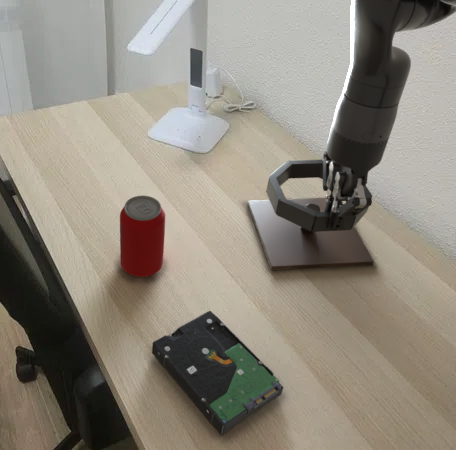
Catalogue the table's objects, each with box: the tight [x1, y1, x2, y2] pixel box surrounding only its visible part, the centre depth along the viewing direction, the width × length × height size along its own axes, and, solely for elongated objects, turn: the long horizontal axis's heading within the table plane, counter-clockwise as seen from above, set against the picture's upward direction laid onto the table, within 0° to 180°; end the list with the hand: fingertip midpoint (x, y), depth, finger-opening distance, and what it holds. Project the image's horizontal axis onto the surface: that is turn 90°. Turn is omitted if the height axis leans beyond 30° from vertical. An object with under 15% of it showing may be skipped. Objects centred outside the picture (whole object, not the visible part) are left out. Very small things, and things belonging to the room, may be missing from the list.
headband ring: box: [265, 158, 373, 232], centre depth 89 cm, size 15×15×3 cm
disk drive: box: [151, 310, 284, 437], centre depth 72 cm, size 10×3×15 cm
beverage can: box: [119, 195, 166, 278], centre depth 84 cm, size 7×7×12 cm
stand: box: [246, 197, 375, 271], centre depth 93 cm, size 17×17×6 cm
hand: (331, 224), depth 85 cm, fingers closed on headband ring, 1 cm apart
